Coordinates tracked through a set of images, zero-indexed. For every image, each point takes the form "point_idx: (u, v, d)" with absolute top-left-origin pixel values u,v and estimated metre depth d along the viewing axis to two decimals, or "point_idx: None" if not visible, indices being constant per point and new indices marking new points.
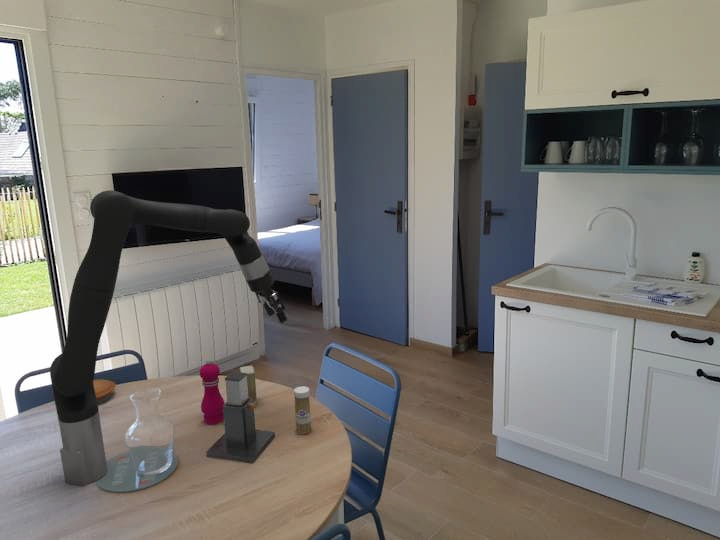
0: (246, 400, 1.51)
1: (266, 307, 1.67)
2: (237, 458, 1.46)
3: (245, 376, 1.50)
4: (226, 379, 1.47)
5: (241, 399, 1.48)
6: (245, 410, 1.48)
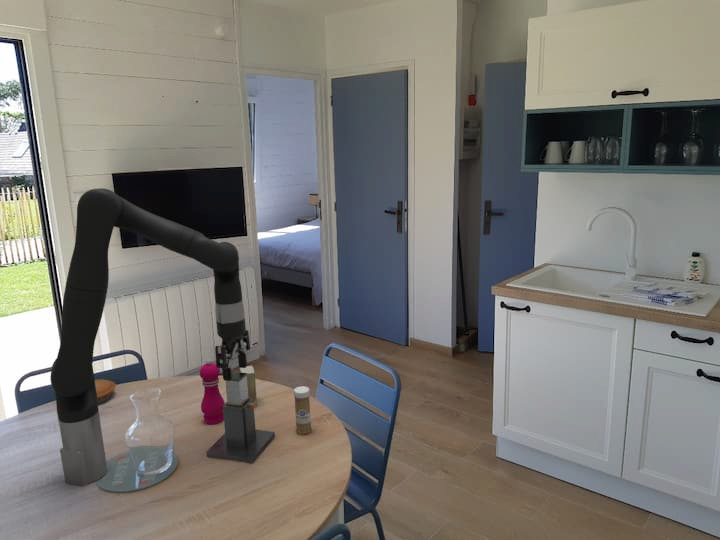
0: (246, 400, 1.51)
1: (239, 356, 1.52)
2: (237, 458, 1.46)
3: (245, 376, 1.50)
4: None
5: (241, 399, 1.48)
6: (245, 410, 1.48)
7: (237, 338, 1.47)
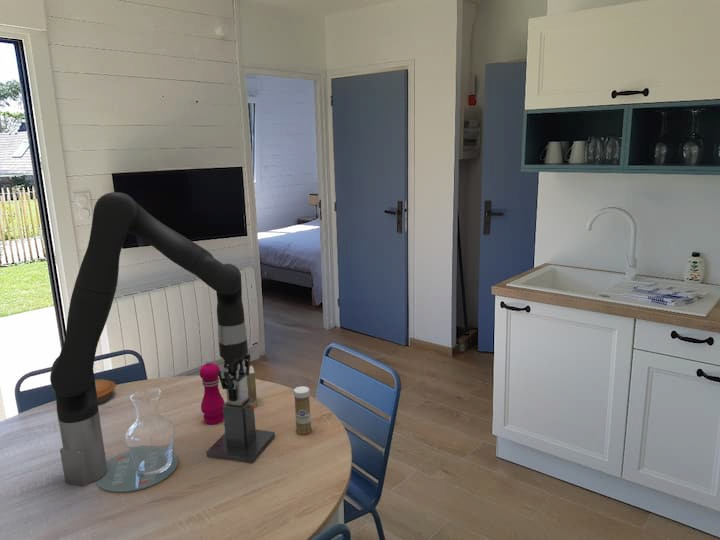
0: (246, 400, 1.51)
1: None
2: (237, 458, 1.46)
3: (245, 376, 1.50)
4: None
5: (241, 399, 1.48)
6: (245, 410, 1.48)
7: (239, 359, 1.48)
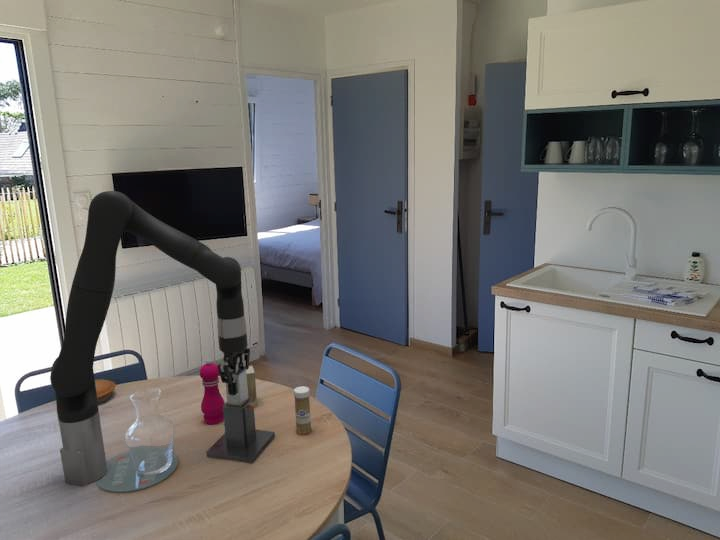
0: (245, 394, 1.50)
1: None
2: (237, 458, 1.46)
3: (244, 370, 1.49)
4: None
5: (240, 392, 1.47)
6: (245, 410, 1.48)
7: (239, 352, 1.48)
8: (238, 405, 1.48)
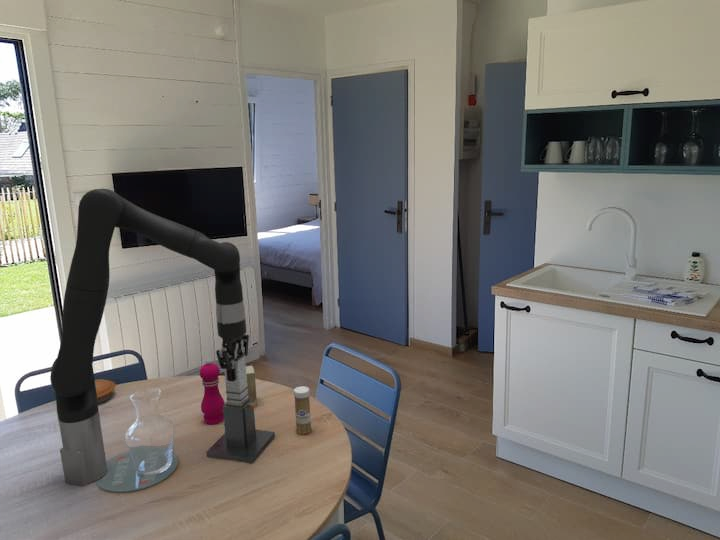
0: (244, 380, 1.49)
1: None
2: (237, 458, 1.46)
3: (243, 356, 1.48)
4: None
5: (239, 379, 1.47)
6: (245, 410, 1.48)
7: (237, 338, 1.47)
8: (237, 391, 1.47)
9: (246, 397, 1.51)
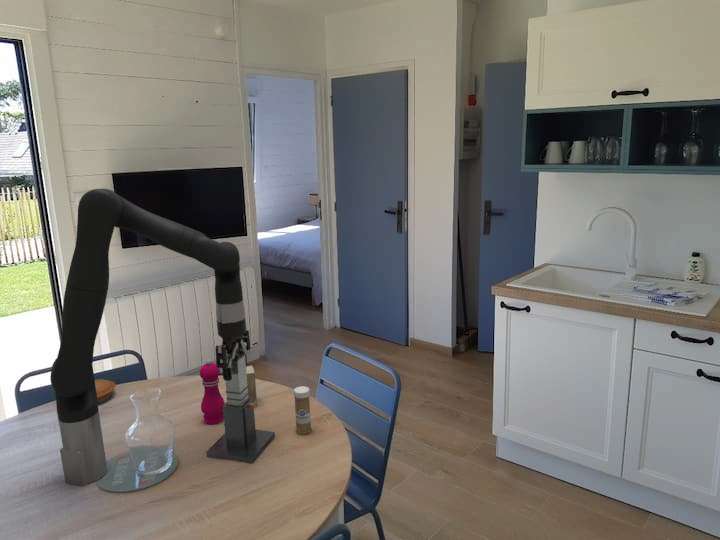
0: (244, 380, 1.49)
1: None
2: (237, 458, 1.46)
3: (243, 356, 1.48)
4: None
5: (239, 378, 1.47)
6: (245, 410, 1.48)
7: (237, 338, 1.47)
8: (237, 391, 1.47)
9: (246, 397, 1.51)
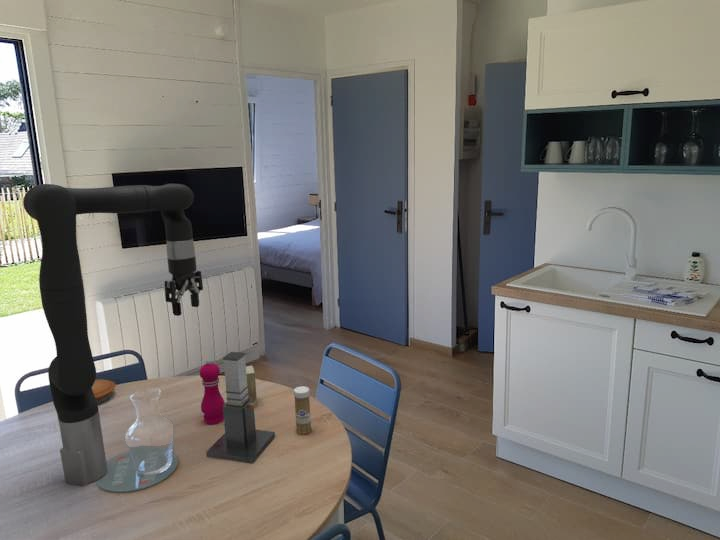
0: (244, 380, 1.49)
1: (191, 296, 1.59)
2: (237, 458, 1.46)
3: (243, 356, 1.48)
4: (224, 359, 1.46)
5: (239, 378, 1.47)
6: (245, 410, 1.48)
7: (188, 276, 1.54)
8: (237, 391, 1.47)
9: (246, 397, 1.51)
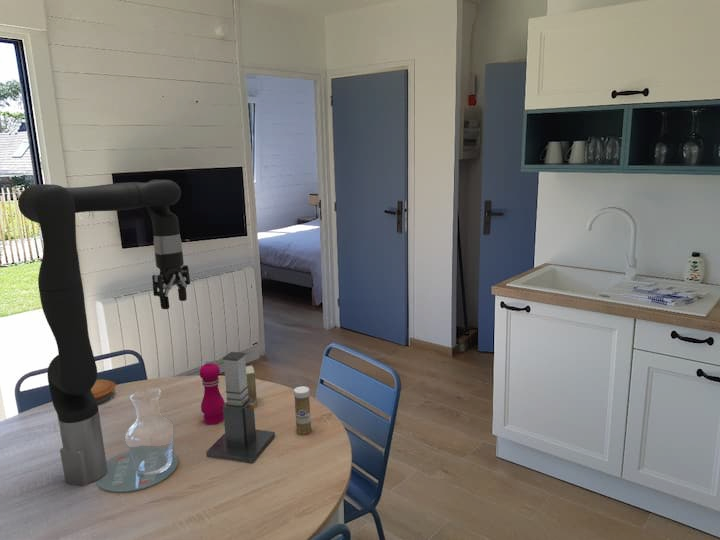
0: (244, 380, 1.49)
1: (179, 290, 1.62)
2: (237, 458, 1.46)
3: (243, 356, 1.48)
4: (224, 359, 1.46)
5: (239, 378, 1.47)
6: (245, 410, 1.48)
7: (175, 270, 1.57)
8: (237, 391, 1.47)
9: (246, 397, 1.51)
